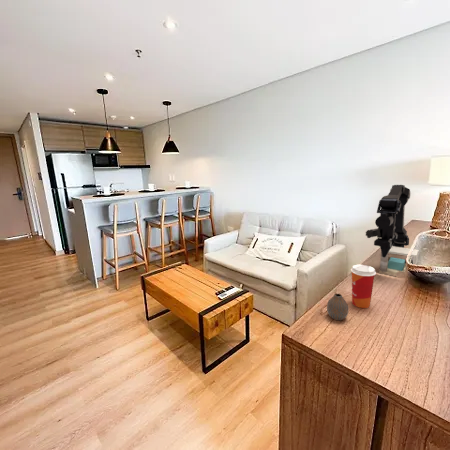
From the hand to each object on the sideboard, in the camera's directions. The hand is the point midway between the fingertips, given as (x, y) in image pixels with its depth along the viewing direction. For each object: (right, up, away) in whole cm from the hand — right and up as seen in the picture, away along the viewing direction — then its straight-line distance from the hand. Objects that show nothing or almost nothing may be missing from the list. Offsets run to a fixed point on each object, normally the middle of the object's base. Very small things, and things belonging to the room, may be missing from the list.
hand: (384, 256), depth 117 cm
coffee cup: (-24, -16, -23) cm, 37 cm away
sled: (+6, -8, +3) cm, 11 cm away
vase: (-37, -18, -30) cm, 51 cm away
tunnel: (+15, -6, +11) cm, 20 cm away
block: (+9, -6, +4) cm, 12 cm away
